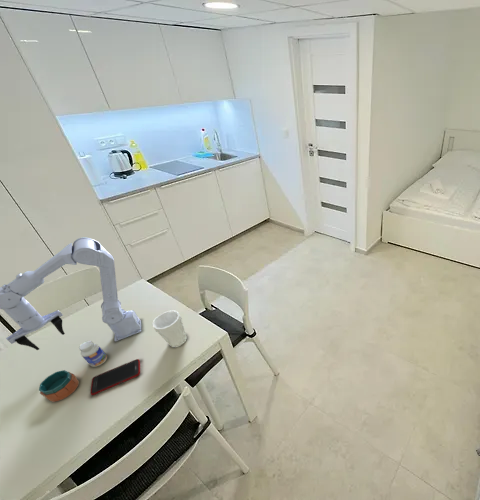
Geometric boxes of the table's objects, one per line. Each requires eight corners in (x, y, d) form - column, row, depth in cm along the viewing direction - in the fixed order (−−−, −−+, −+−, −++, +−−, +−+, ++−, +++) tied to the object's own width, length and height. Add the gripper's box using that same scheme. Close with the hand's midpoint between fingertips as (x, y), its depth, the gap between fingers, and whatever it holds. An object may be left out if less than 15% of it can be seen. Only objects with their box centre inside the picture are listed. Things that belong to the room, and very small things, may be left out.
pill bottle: (98, 368, 108) (84, 352, 102) (87, 365, 109) (72, 350, 103) (111, 355, 112) (98, 340, 107) (99, 353, 113) (86, 338, 108)
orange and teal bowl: (80, 373, 106) (71, 364, 103) (77, 393, 100) (68, 384, 97) (50, 385, 102) (40, 377, 99) (45, 407, 96) (34, 398, 93)
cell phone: (93, 378, 104) (92, 377, 104) (140, 359, 110) (139, 358, 110) (91, 396, 99) (89, 395, 98) (140, 375, 105) (139, 373, 104)
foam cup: (160, 346, 116) (146, 324, 108) (179, 329, 123) (167, 307, 115) (177, 353, 113) (164, 331, 105) (195, 335, 120) (184, 314, 112)
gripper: (46, 298, 105) (68, 323, 113) (-8, 326, 95) (20, 351, 103) (55, 305, 102) (76, 330, 110) (0, 334, 92) (28, 359, 100)
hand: (50, 340), depth 106 cm, fingers open, 7 cm apart
